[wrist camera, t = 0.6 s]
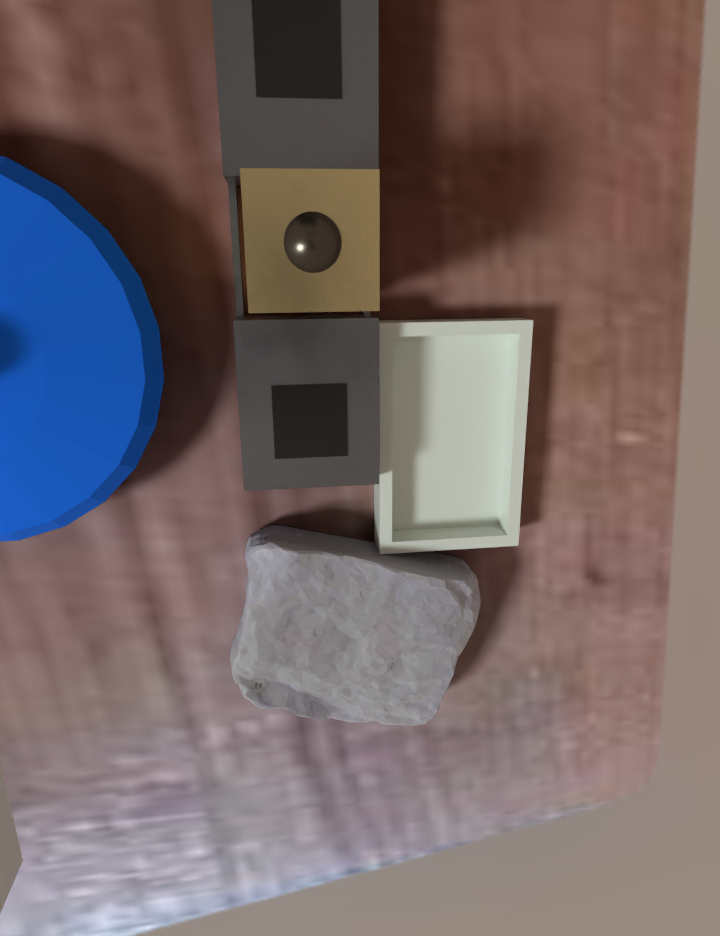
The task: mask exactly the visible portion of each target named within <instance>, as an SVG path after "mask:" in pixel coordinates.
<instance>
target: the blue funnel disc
mask: <svg viewBox="0 0 720 936" xmlns="http://www.w3.org/2000/svg"><path fill="white" fill-rule="evenodd" d="M163 383H164V372H163V362H162V352H161V342H160V332H159V327H158V324H157V321H156V319H155V316H154V313H153V311H152V308H151V305H150V303H149V300H148V297H147V295H146V292H145V289H144V287H143V284H142V281H141V278H140V276H139V275H138V274H137V272H136V271H135V269H134V268H133V266H132V265H131V263H130V262H129V260H128V259H127V257H126V256H125V254H124V253H123V252H122V250H121V249H120V247H119V246H118V244H117V243H116V241H115V240H114V238H113V237H112V235H111V234H110V232H109V231H108V230H107V229H106V228H105V227H104V226H103V225H102V224H101V223H100V222H99V221H98V220H97V219H95V218H94V217H93V216H92V215H91V214H90V213H89V212H88V211H87V210H86V209H85V208H83V207H82V206H81V205H80V204H79V203H78V202H77V201H76V200H75V199H74V198H72V197H71V196H70V195H69V194H68V193H67V192H66V191H65V190H64V189H63V188H61V187H59V186H57V185H56V184H54V183H52V182H50V181H48V180H47V179H45V178H43V177H41V176H39V175H38V174H36V173H34V172H32V171H31V170H29V169H27V168H25V167H23V166H22V165H20V164H18V163H16V162H14V161H13V160H11V159H9V158H7V157H3V156H0V541H16V540H21V539H25V538H28V537H31V536H35V535H38V534H41V533H44V532H48V531H51V530H54V529H58V528H61V527H64V526H66V525H68V524H69V523H71V522H73V521H74V520H76V519H78V518H79V517H81V516H82V515H84V514H86V513H87V512H89V511H90V510H92V509H94V508H95V507H97V506H99V505H100V504H102V503H103V502H105V501H106V500H107V499H108V498H109V496H110V495H111V494H112V493H113V492H114V491H115V490H116V489H117V488H118V487H119V485H120V484H121V483H122V482H123V481H124V480H125V479H126V478H127V477H128V476H129V475H130V473H131V472H132V471H133V470H134V469H135V468H136V466H137V464H138V462H139V460H140V458H141V456H142V454H143V452H144V450H145V448H146V446H147V444H148V442H149V440H150V438H151V436H152V433H153V431H154V429H155V427H156V423H157V418H158V412H159V406H160V400H161V395H162V389H163Z"/></svg>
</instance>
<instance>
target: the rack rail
mask: <svg viewBox="0 0 720 936" xmlns="http://www.w3.org/2000/svg"><path fill="white" fill-rule="evenodd" d="M212 11H213V26H214V41H215V57H216V72H217V87H218V102H219V117H220V132H221V147H222V162H223V176H224V178H225V180H226V182H227V183H228V187H229V203H230V218H231V234H232V249H233V265H234V280H235V296H236V311H237V317H236V318H235V319H234V320H233V327H234V342H235V357H236V373H237V388H238V403H239V418H240V433H241V448H242V463H243V478H244V491H249V490H270V489H290V488H310V487H330V486H351V485H371V484H379V318H378V317H376V316H373V315H371V314H370V311H363V314H333V315H278V316H244V306H243V290H242V273H241V257H240V241H239V225H238V208H237V192H236V186H241V179H240V168H283V169H379V0H212Z"/></svg>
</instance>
